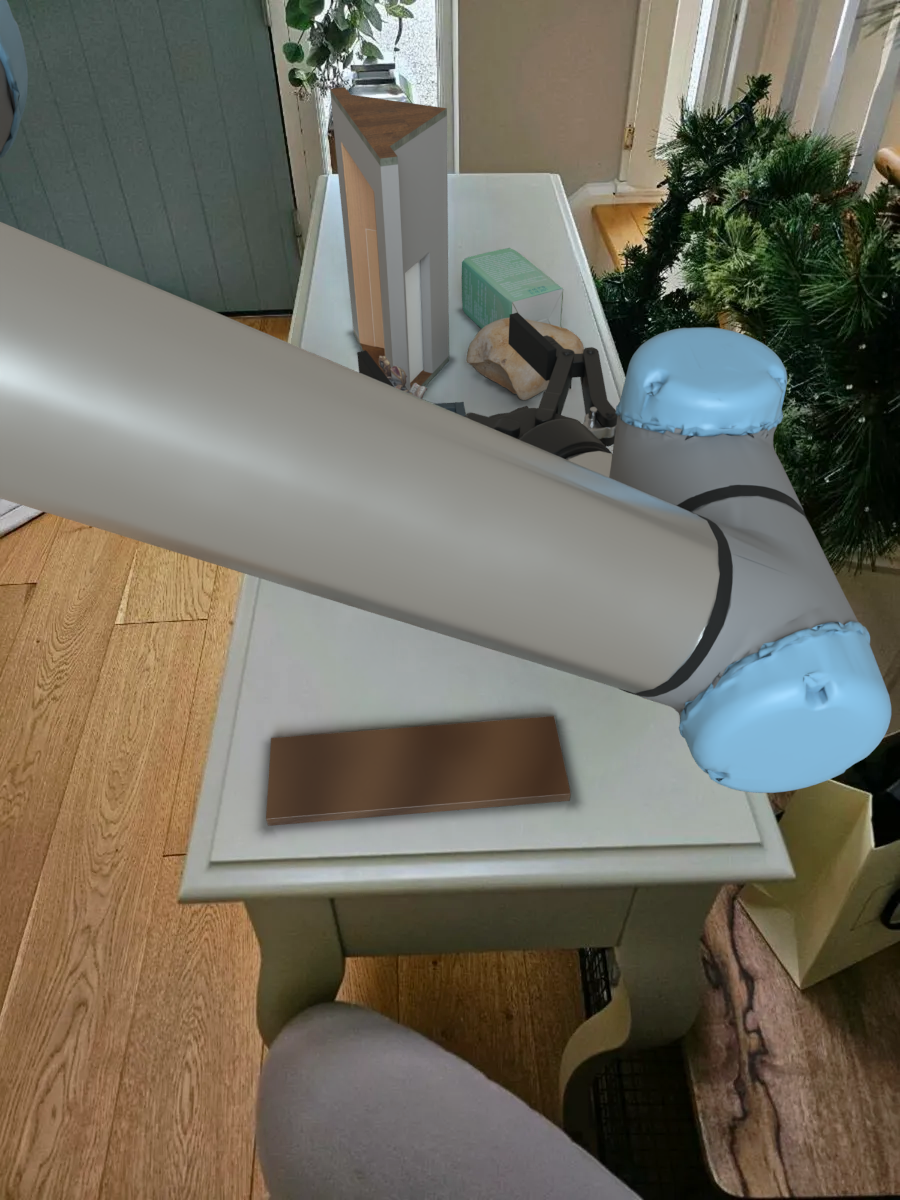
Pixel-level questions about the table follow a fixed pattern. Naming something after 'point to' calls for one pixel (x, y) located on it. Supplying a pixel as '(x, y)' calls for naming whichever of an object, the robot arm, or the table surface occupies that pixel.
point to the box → (508, 289)
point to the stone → (514, 356)
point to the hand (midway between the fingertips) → (439, 346)
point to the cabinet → (395, 228)
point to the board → (415, 770)
